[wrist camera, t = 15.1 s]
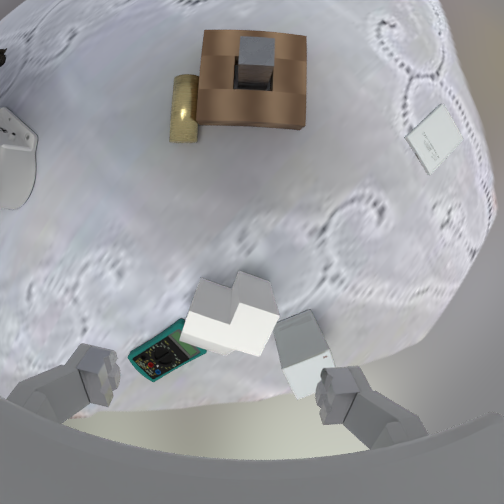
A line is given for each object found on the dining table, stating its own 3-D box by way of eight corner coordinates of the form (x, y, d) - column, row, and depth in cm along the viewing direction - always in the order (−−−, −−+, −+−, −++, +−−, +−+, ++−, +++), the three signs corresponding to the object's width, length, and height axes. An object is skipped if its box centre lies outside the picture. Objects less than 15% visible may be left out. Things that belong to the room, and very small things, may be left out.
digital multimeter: (128, 351, 50) (123, 360, 47) (183, 315, 48) (180, 323, 45) (153, 376, 51) (150, 385, 49) (209, 344, 50) (208, 353, 47)
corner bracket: (269, 281, 47) (279, 315, 35) (244, 337, 49) (246, 380, 38) (207, 258, 45) (197, 287, 34) (186, 317, 48) (173, 358, 36)
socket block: (199, 125, 40) (196, 120, 36) (206, 40, 36) (204, 30, 32) (299, 130, 40) (305, 125, 37) (300, 46, 37) (306, 36, 33)
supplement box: (270, 323, 49) (280, 368, 36) (310, 308, 48) (331, 348, 36) (284, 354, 51) (296, 401, 38) (321, 340, 50) (342, 383, 38)
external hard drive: (459, 139, 42) (426, 175, 43) (438, 104, 40) (402, 137, 42) (464, 139, 40) (431, 175, 42) (443, 103, 38) (407, 136, 40)
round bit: (182, 143, 41) (202, 142, 39) (163, 141, 38) (184, 139, 36) (186, 84, 38) (206, 79, 37) (168, 78, 35) (189, 72, 33)
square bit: (238, 92, 38) (238, 64, 27) (239, 69, 37) (240, 36, 26) (264, 93, 39) (274, 66, 27) (265, 70, 38) (274, 38, 26)
